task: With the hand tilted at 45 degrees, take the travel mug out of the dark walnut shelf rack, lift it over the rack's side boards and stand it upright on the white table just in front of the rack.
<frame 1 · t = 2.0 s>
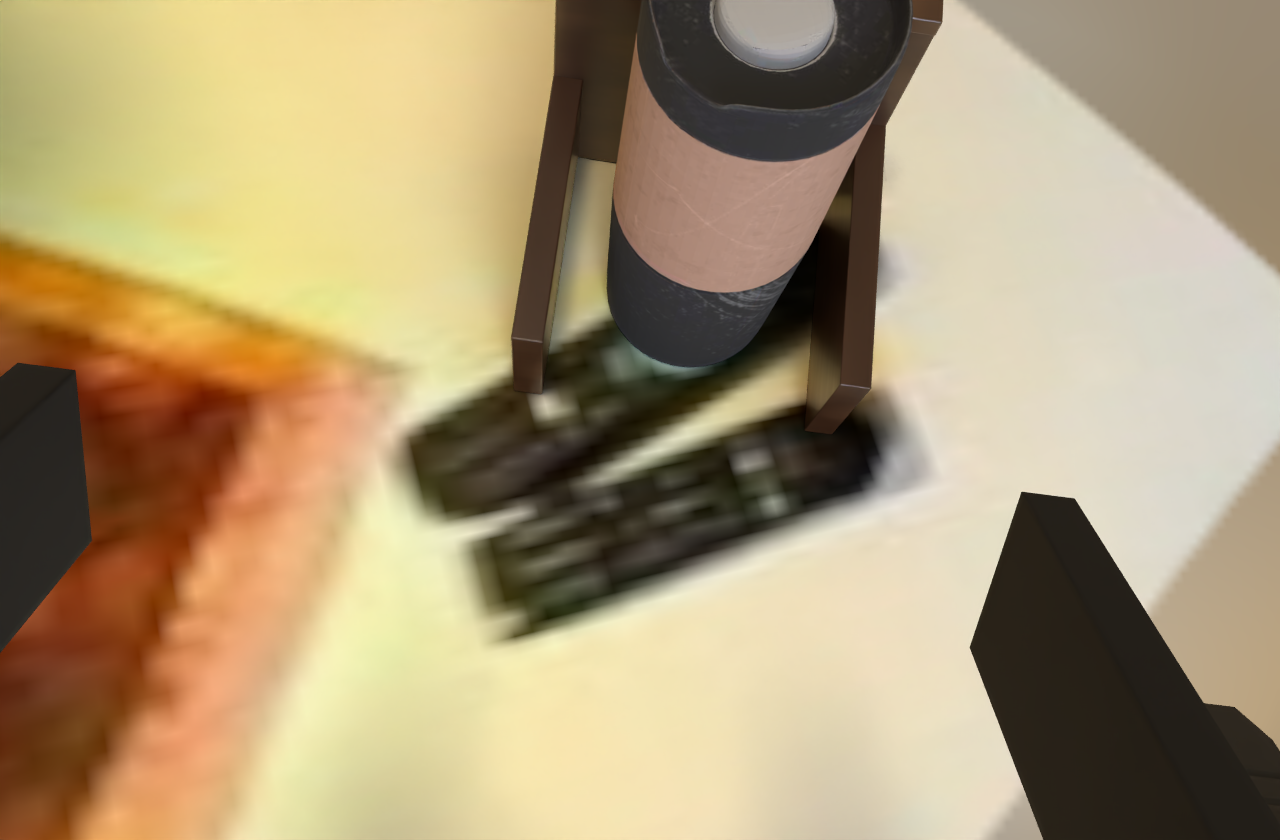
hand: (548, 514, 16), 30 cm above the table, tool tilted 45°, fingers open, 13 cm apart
travel mug: (686, 294, 50), on the table
shelf rack: (687, 292, 50), on the table
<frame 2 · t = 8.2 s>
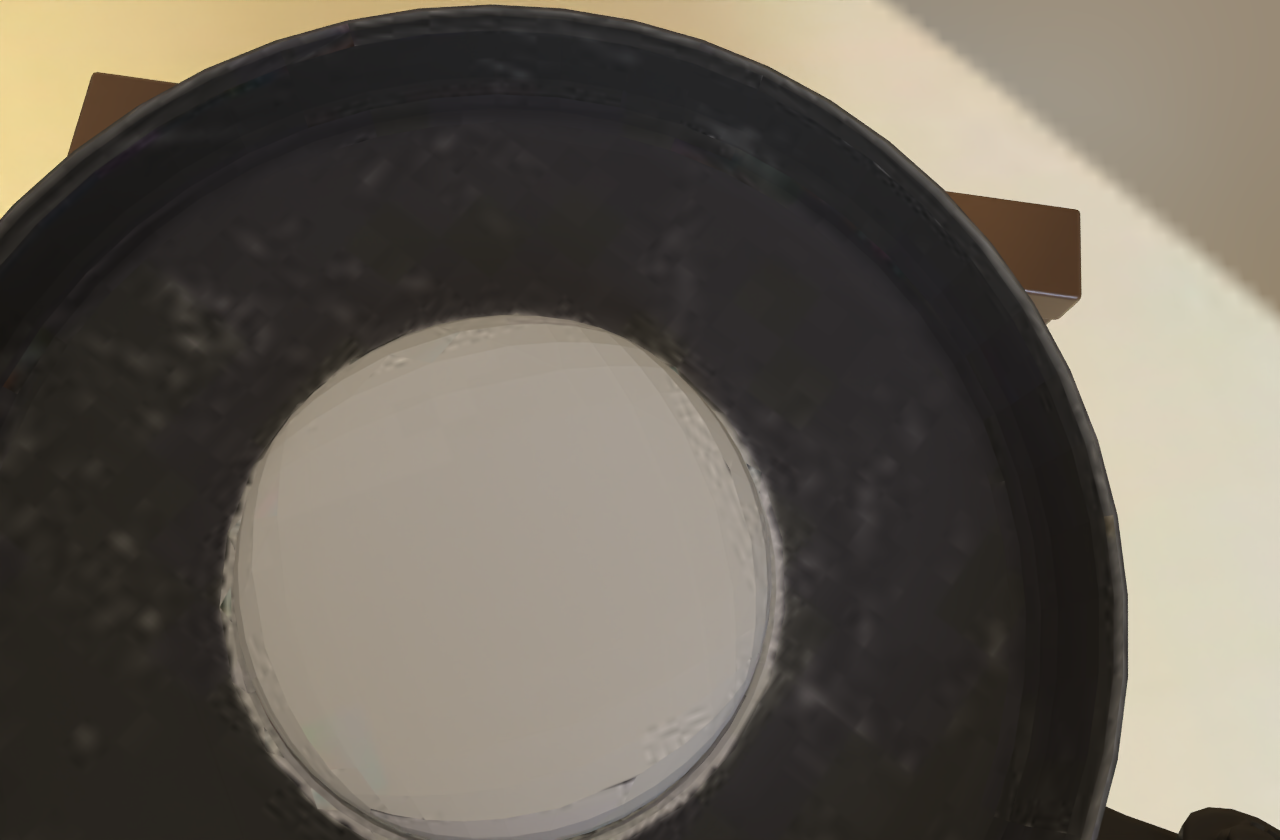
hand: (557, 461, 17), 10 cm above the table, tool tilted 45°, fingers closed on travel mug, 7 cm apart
travel mug: (530, 724, 26), on the table, touching gripper
shelf rack: (531, 724, 25), on the table
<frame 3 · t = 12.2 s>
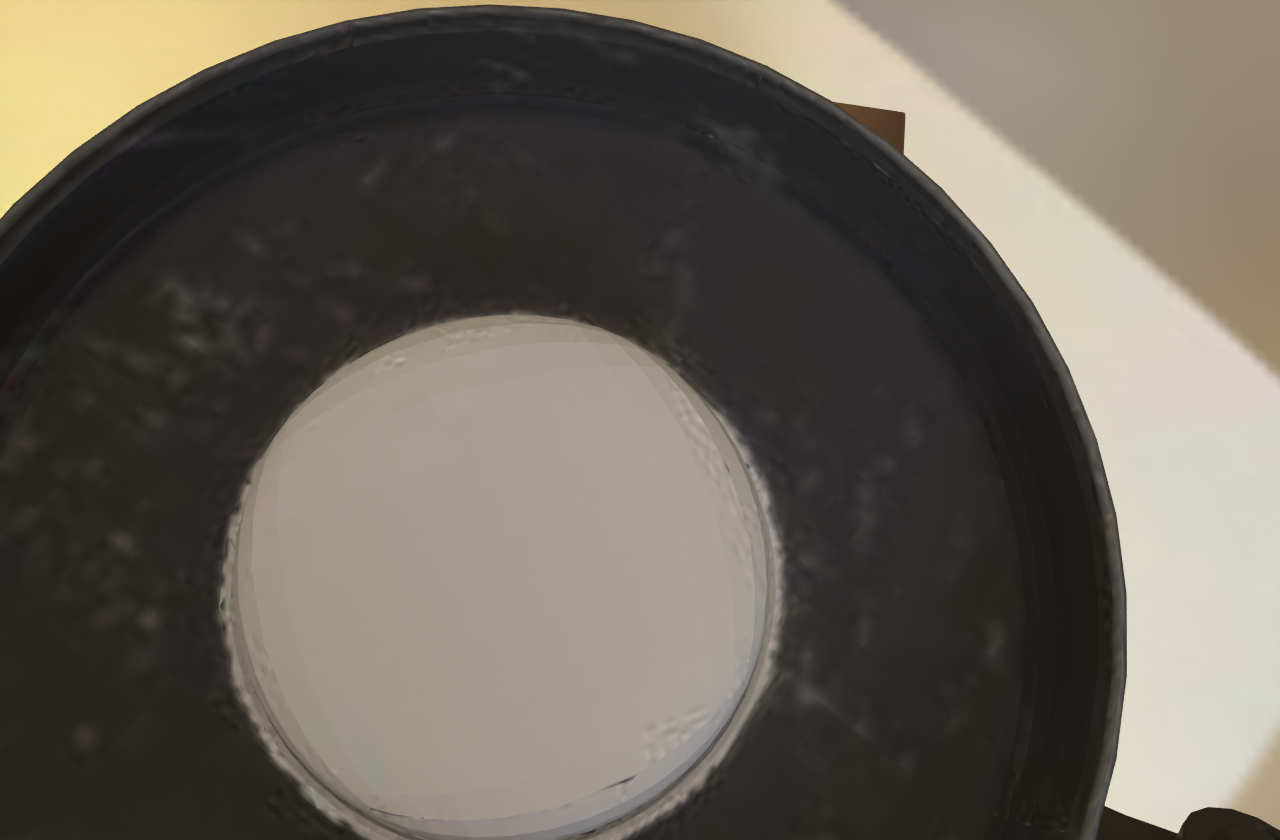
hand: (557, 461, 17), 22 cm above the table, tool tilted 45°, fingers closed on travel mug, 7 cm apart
travel mug: (531, 724, 26), point 12 cm above the table, touching gripper
shelf rack: (595, 463, 40), on the table
when the fingers open (10 cm above the table, at t = 16.2 s): travel mug stays where it is, on the table.
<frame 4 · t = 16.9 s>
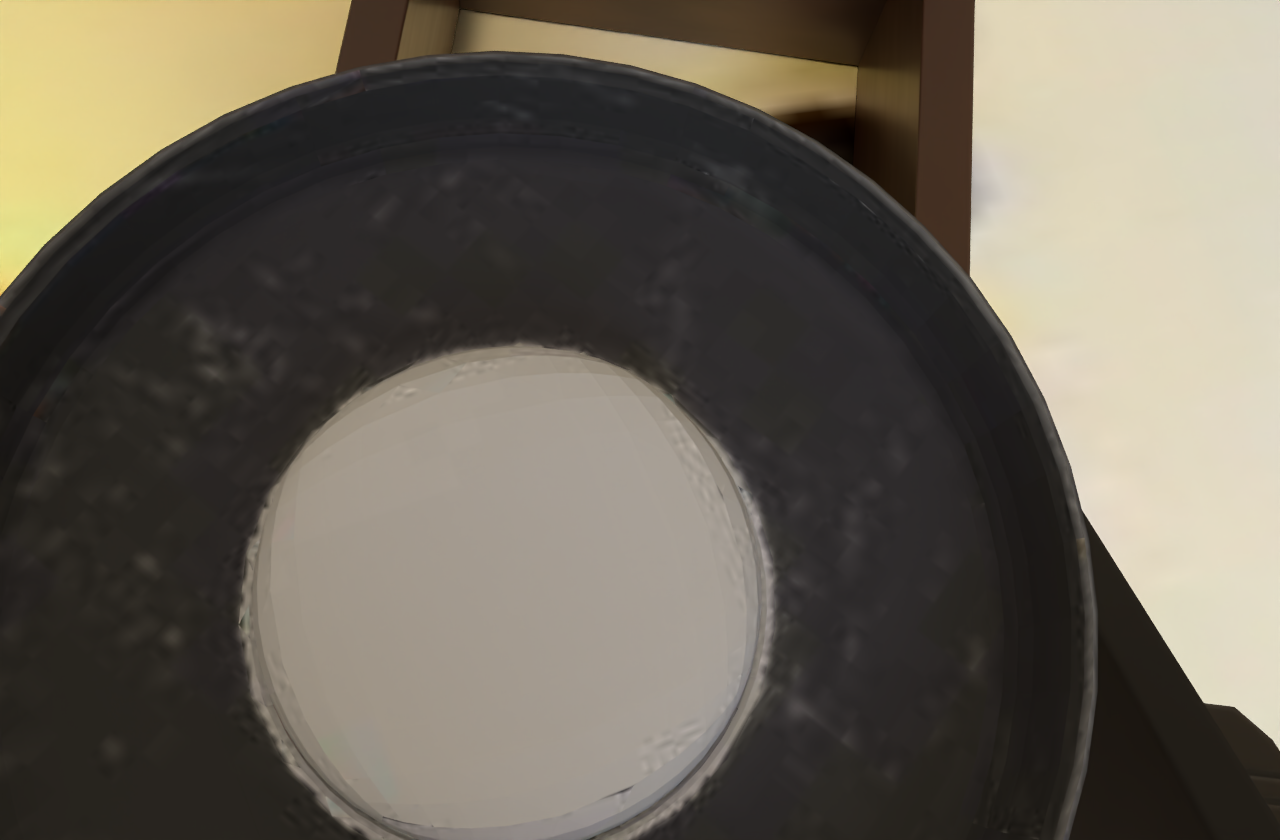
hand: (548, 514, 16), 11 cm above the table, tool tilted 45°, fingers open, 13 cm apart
travel mug: (533, 729, 26), on the table
shelf rack: (638, 223, 30), on the table
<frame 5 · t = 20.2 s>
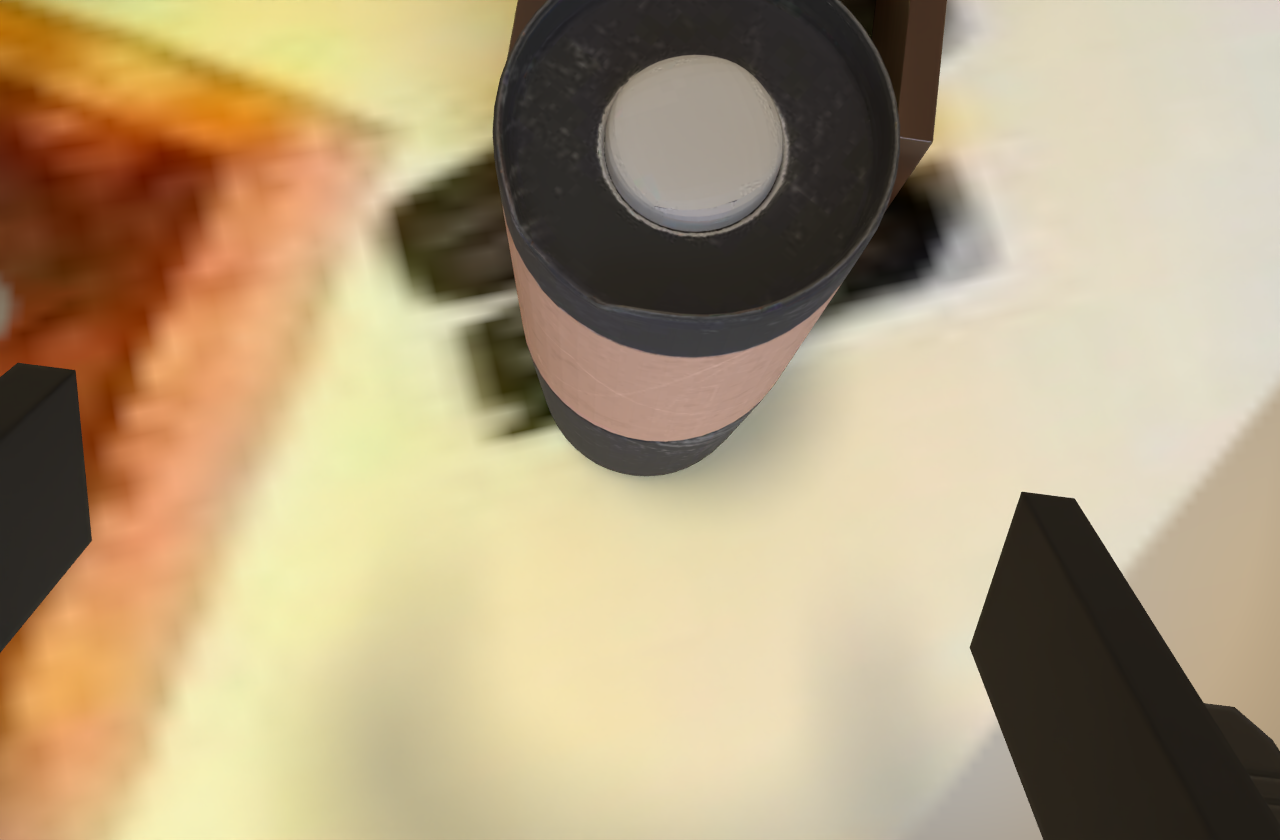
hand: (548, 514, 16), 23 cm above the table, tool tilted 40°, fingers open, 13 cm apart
travel mug: (644, 378, 40), on the table
shelf rack: (720, 45, 43), on the table
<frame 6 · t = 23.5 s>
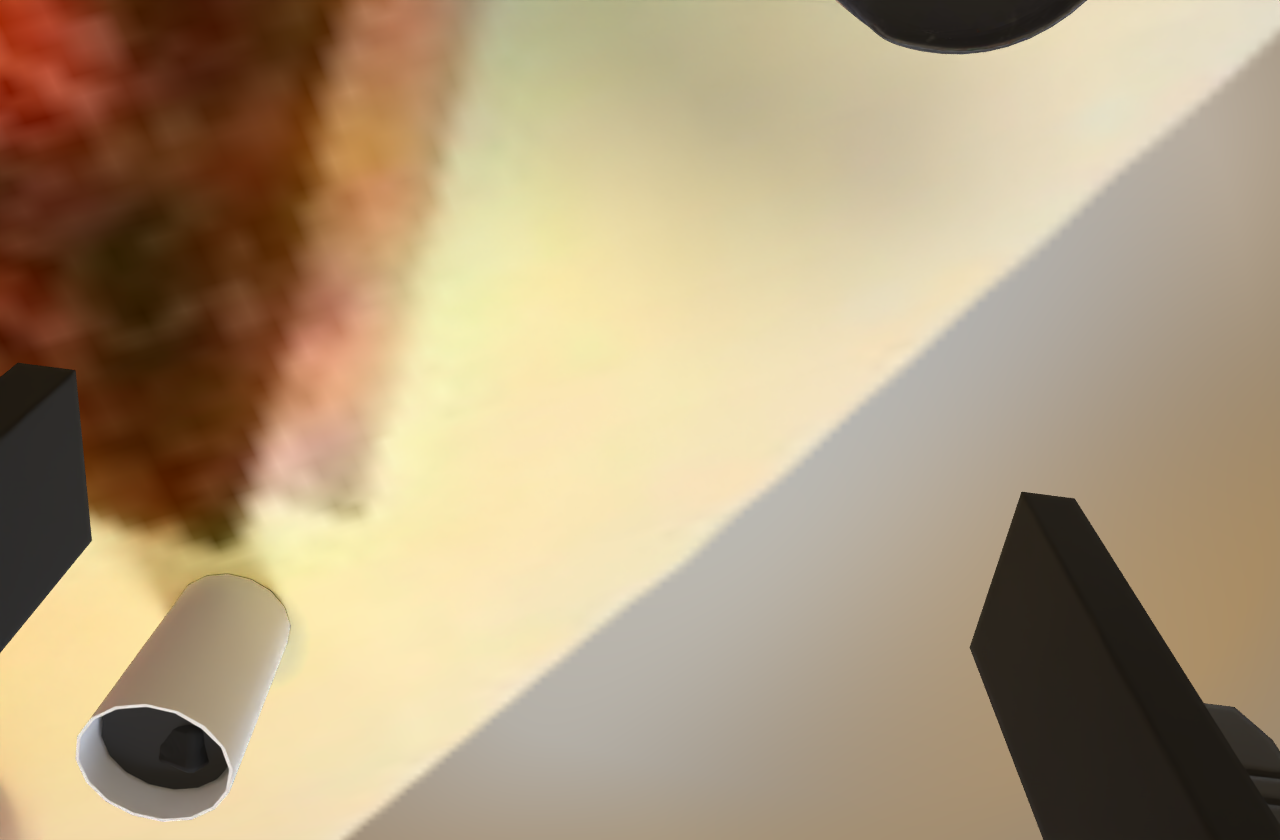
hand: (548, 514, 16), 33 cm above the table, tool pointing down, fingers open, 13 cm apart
white cup: (234, 619, 58), on the table
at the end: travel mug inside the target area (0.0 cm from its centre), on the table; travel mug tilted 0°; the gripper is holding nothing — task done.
